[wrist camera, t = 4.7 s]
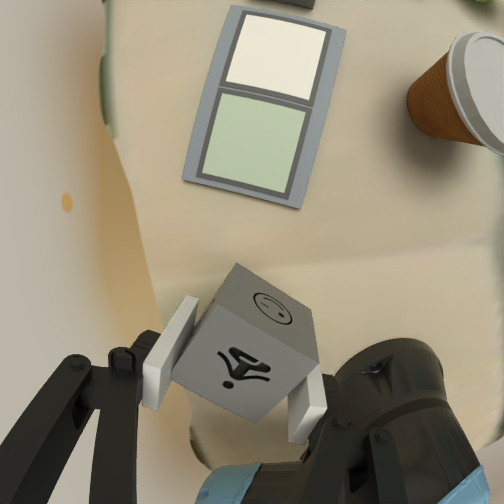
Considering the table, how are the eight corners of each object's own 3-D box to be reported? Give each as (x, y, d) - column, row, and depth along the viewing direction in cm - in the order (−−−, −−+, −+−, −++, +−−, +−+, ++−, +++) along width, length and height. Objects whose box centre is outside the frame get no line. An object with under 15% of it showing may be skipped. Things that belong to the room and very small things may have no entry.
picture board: (300, 207, 27) (301, 209, 26) (184, 178, 27) (180, 179, 26) (344, 34, 21) (346, 29, 20) (232, 9, 21) (230, 4, 20)
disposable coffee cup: (387, 139, 24) (457, 130, 13) (393, 51, 21) (452, 3, 10) (464, 164, 24) (544, 175, 12) (469, 82, 21) (541, 62, 10)
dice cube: (311, 309, 17) (319, 363, 12) (262, 365, 18) (255, 423, 13) (236, 262, 16) (217, 303, 11) (194, 326, 18) (167, 377, 13)
